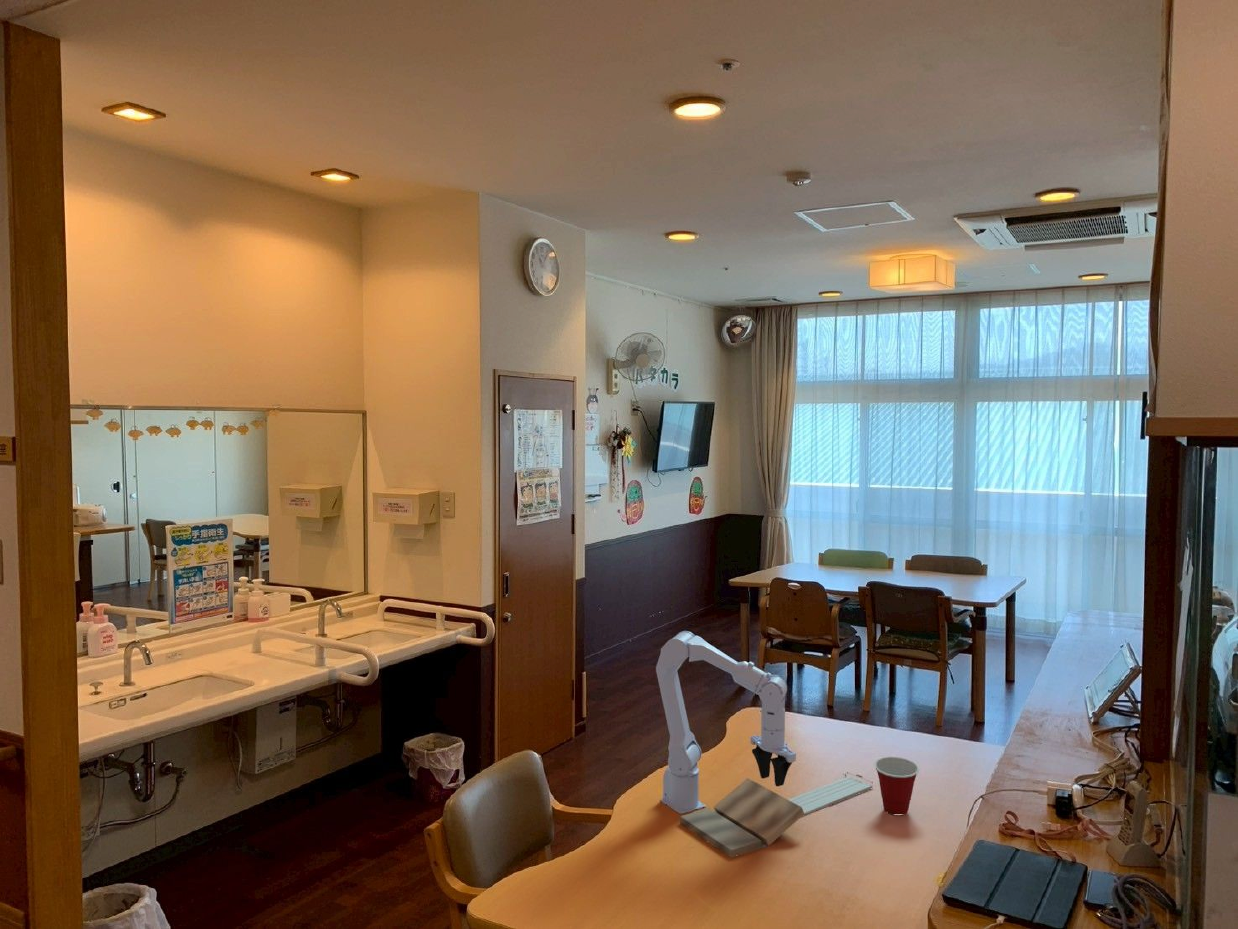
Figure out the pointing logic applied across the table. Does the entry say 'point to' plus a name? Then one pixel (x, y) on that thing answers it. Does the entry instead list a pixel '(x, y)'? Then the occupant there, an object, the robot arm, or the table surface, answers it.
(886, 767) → the plastic cup
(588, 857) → the table surface
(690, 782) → the robot arm
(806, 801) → the baseboard
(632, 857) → the table surface
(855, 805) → the table surface
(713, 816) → the floor panel
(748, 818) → the plank
